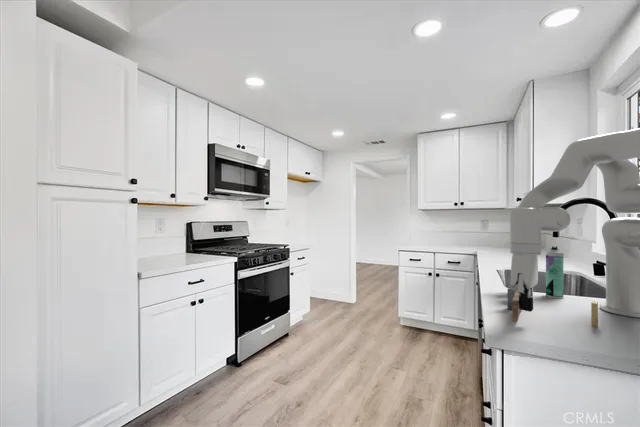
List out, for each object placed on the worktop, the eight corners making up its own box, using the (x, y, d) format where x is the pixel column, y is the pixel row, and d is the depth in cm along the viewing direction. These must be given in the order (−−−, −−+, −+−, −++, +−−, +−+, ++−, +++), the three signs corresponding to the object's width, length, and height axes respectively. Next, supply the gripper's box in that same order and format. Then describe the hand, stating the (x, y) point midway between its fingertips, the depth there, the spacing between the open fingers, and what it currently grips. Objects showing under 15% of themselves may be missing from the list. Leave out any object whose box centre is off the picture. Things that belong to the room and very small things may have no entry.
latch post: (592, 325, 89) (592, 301, 89) (597, 326, 88) (597, 302, 88) (591, 326, 87) (591, 302, 87) (596, 327, 87) (596, 303, 87)
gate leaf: (516, 307, 103) (516, 288, 103) (522, 308, 102) (522, 289, 102) (511, 324, 88) (511, 301, 88) (518, 325, 87) (518, 302, 87)
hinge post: (509, 307, 105) (509, 287, 105) (515, 309, 104) (515, 288, 104) (507, 308, 104) (507, 288, 104) (514, 310, 102) (514, 289, 102)
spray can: (558, 295, 121) (558, 245, 121) (566, 299, 115) (566, 247, 115) (543, 294, 122) (543, 245, 122) (550, 298, 117) (550, 247, 117)
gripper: (518, 245, 97) (519, 302, 97) (502, 250, 87) (503, 312, 87) (547, 247, 92) (547, 307, 92) (533, 252, 82) (534, 319, 82)
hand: (526, 309), depth 89 cm, fingers closed
